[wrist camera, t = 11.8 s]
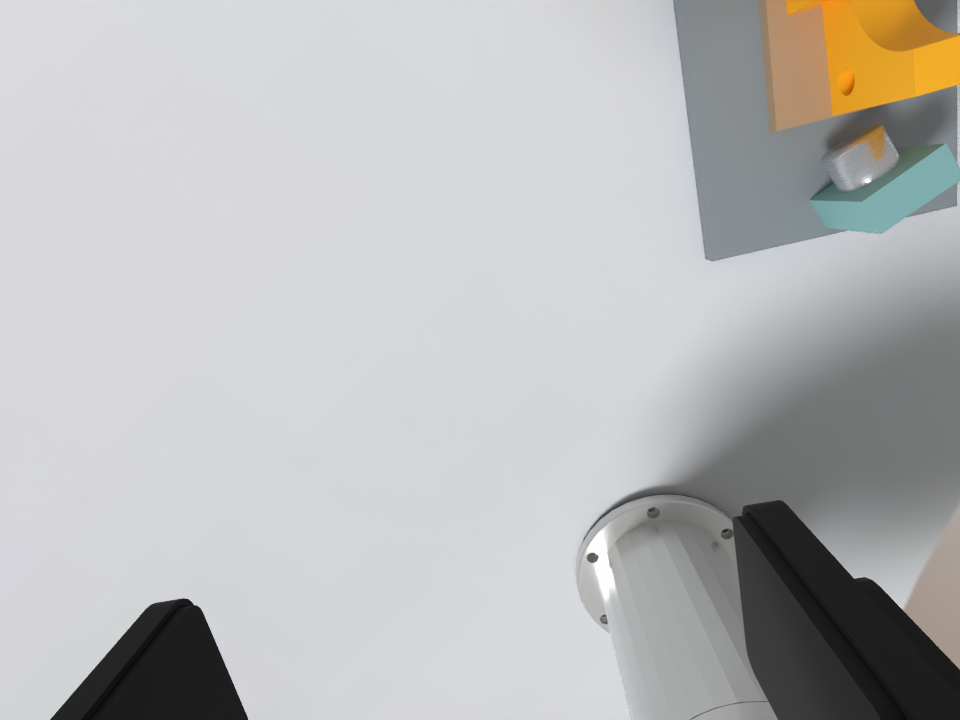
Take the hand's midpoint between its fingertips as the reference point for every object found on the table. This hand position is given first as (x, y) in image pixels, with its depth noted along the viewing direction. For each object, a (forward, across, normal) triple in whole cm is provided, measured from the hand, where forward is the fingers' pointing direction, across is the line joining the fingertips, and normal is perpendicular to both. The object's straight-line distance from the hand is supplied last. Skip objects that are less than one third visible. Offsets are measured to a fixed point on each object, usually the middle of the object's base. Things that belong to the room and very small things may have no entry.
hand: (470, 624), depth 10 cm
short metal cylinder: (+26, -21, -3) cm, 34 cm away
